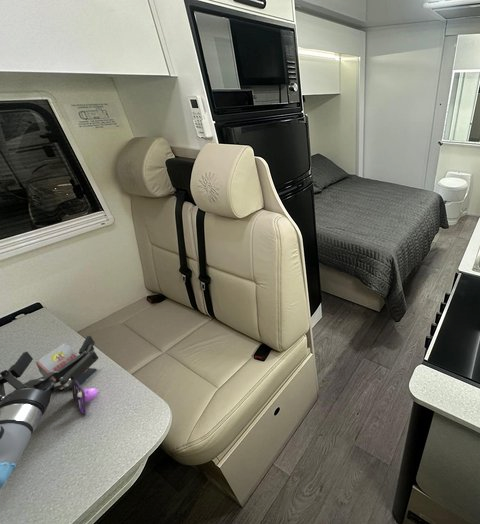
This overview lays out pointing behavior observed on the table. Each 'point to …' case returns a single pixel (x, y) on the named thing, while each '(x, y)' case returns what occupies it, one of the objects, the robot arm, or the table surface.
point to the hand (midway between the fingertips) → (60, 347)
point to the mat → (85, 375)
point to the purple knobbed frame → (83, 395)
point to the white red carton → (55, 360)
